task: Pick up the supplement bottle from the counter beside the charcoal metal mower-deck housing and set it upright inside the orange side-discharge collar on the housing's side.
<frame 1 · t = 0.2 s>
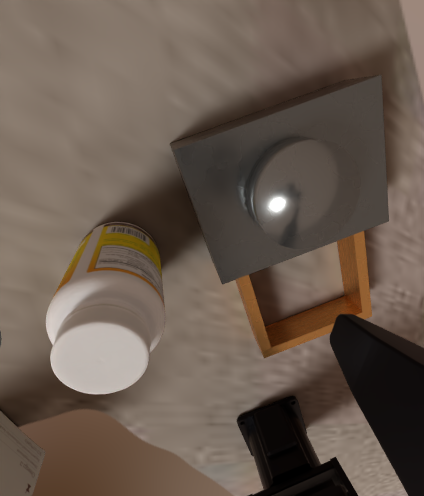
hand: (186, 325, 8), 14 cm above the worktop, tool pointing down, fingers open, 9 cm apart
supplement bottle: (121, 254, 22), on the worktop
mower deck: (273, 178, 22), on the worktop
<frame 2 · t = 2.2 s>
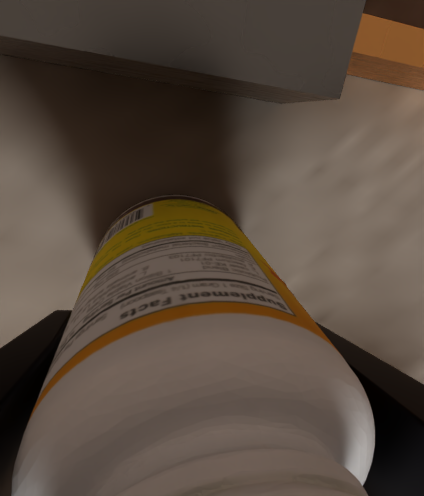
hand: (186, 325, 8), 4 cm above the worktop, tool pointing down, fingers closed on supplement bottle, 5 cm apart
supplement bottle: (174, 258, 12), on the worktop, touching gripper
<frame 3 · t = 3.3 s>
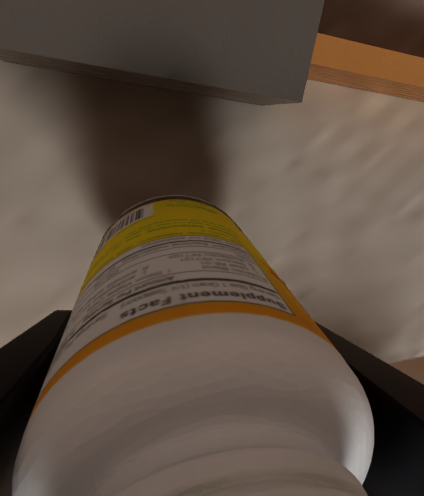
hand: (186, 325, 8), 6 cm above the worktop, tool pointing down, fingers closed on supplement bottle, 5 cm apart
supplement bottle: (174, 258, 12), point 2 cm above the worktop, touching gripper
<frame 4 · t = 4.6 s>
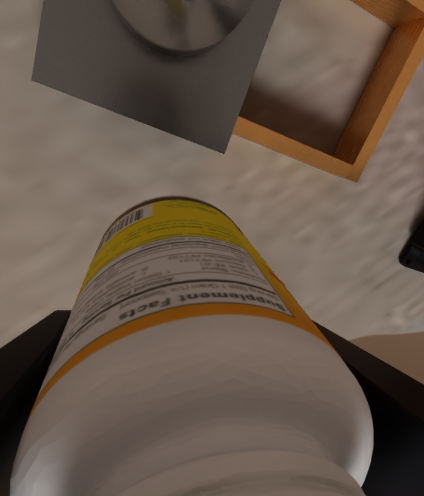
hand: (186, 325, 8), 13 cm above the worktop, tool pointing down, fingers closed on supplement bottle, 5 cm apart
supplement bottle: (173, 258, 12), point 8 cm above the worktop, touching gripper
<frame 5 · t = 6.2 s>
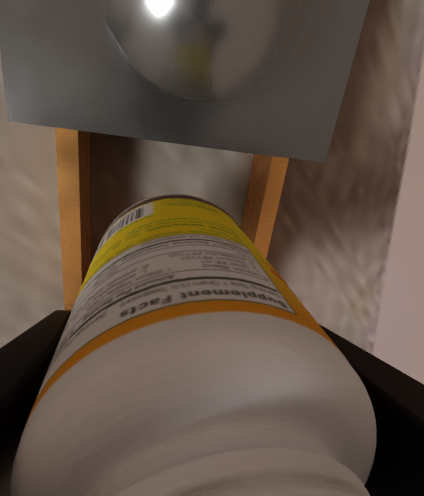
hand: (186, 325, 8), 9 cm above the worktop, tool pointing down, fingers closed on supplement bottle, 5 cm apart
supplement bottle: (174, 257, 12), point 5 cm above the worktop, touching gripper
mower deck: (187, 26, 13), on the worktop
when the fingers open (6 cm above the worktop, at t = 7.2 s): supplement bottle drops 2 cm, resting in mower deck.
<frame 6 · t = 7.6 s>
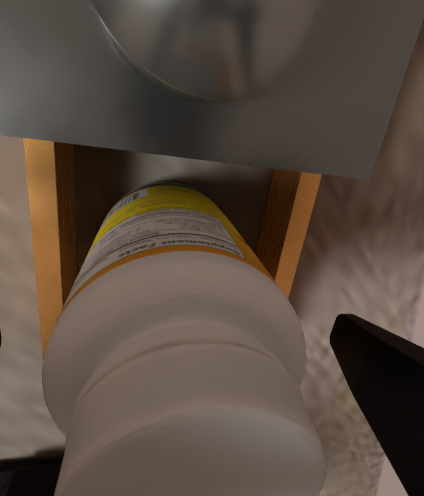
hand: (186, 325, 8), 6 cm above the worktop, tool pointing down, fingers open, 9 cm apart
supplement bottle: (167, 239, 14), resting in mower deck
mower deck: (195, 8, 10), on the worktop
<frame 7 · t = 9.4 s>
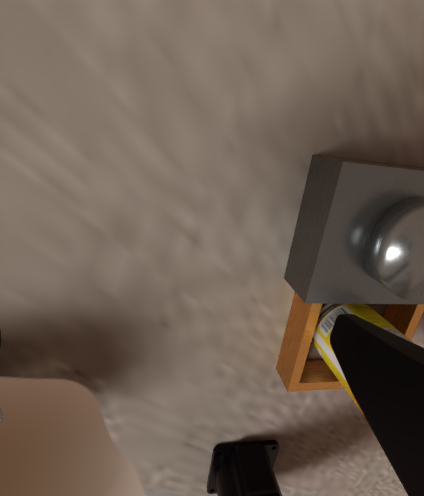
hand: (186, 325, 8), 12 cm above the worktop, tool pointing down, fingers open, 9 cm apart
supplement bottle: (336, 320, 26), resting in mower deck
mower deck: (371, 226, 23), on the worktop
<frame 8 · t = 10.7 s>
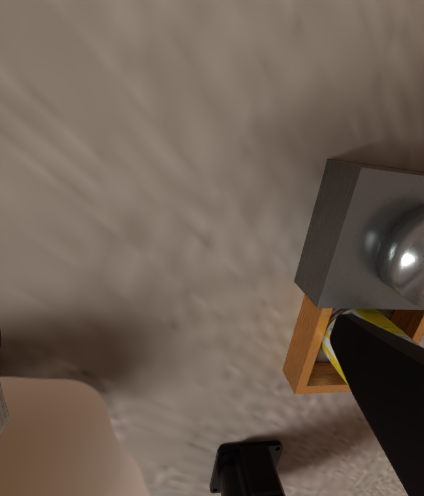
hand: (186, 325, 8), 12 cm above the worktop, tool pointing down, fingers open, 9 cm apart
supplement bottle: (343, 324, 26), resting in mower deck
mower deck: (382, 231, 23), on the worktop
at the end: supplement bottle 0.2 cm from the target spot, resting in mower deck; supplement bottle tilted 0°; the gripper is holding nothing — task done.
